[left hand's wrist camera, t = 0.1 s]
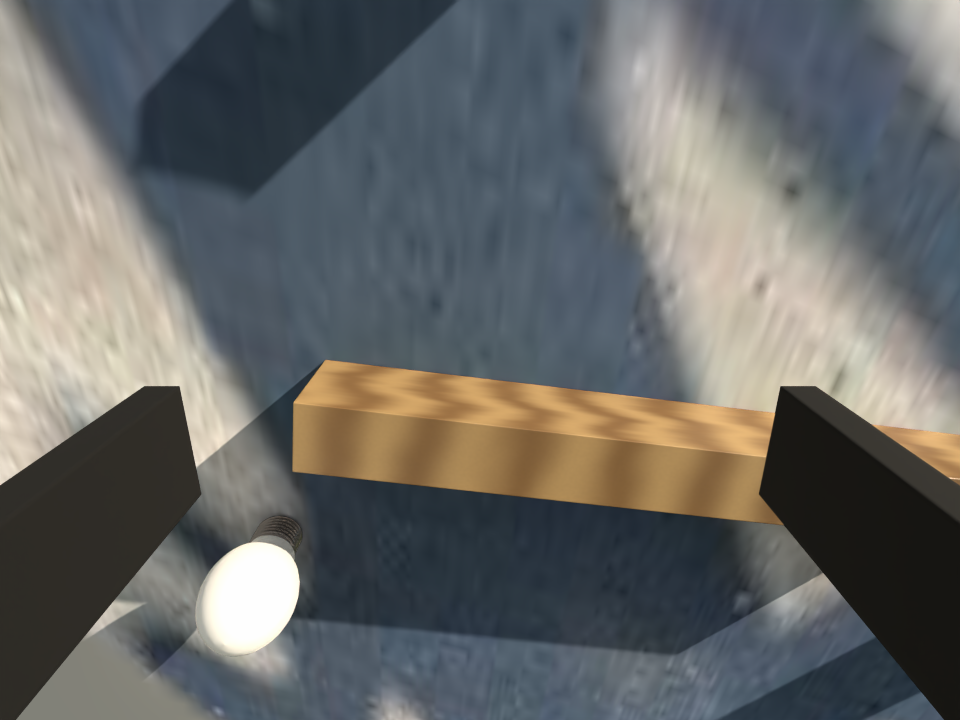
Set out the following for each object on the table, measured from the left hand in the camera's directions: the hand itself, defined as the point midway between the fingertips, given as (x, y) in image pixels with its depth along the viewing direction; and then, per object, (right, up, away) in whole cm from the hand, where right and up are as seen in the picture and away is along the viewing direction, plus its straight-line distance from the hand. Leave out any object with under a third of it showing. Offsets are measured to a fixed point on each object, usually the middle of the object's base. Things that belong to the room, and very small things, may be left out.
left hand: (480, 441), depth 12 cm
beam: (+14, -4, +31) cm, 34 cm away
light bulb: (-17, -13, +35) cm, 41 cm away
